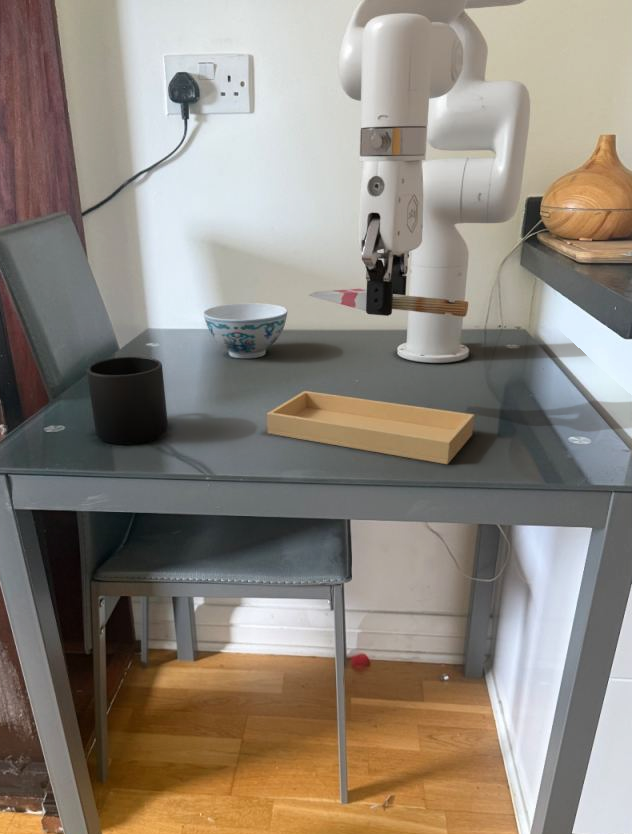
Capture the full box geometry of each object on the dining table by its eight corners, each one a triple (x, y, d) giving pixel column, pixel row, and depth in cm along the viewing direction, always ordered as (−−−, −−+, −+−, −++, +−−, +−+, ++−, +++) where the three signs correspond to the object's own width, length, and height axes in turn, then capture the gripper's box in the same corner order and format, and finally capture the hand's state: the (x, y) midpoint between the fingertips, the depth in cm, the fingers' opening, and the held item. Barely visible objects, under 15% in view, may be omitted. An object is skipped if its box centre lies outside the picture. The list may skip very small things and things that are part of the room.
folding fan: (318, 279, 93) (471, 295, 86) (317, 300, 94) (468, 317, 87) (306, 283, 90) (464, 300, 83) (305, 305, 91) (461, 324, 84)
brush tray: (304, 409, 102) (304, 390, 101) (472, 435, 92) (474, 414, 91) (267, 433, 94) (266, 413, 92) (447, 464, 83) (449, 442, 82)
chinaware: (303, 349, 133) (303, 307, 130) (257, 368, 122) (255, 323, 118) (238, 340, 140) (236, 300, 137) (189, 357, 129) (186, 314, 126)
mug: (181, 415, 101) (175, 351, 97) (156, 446, 90) (149, 376, 86) (116, 414, 102) (108, 351, 98) (85, 444, 91) (74, 375, 87)
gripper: (398, 146, 73) (390, 327, 81) (446, 146, 86) (435, 301, 94) (332, 147, 76) (330, 321, 84) (387, 147, 89) (381, 297, 97)
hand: (385, 309), depth 89 cm, fingers closed on folding fan, 3 cm apart
